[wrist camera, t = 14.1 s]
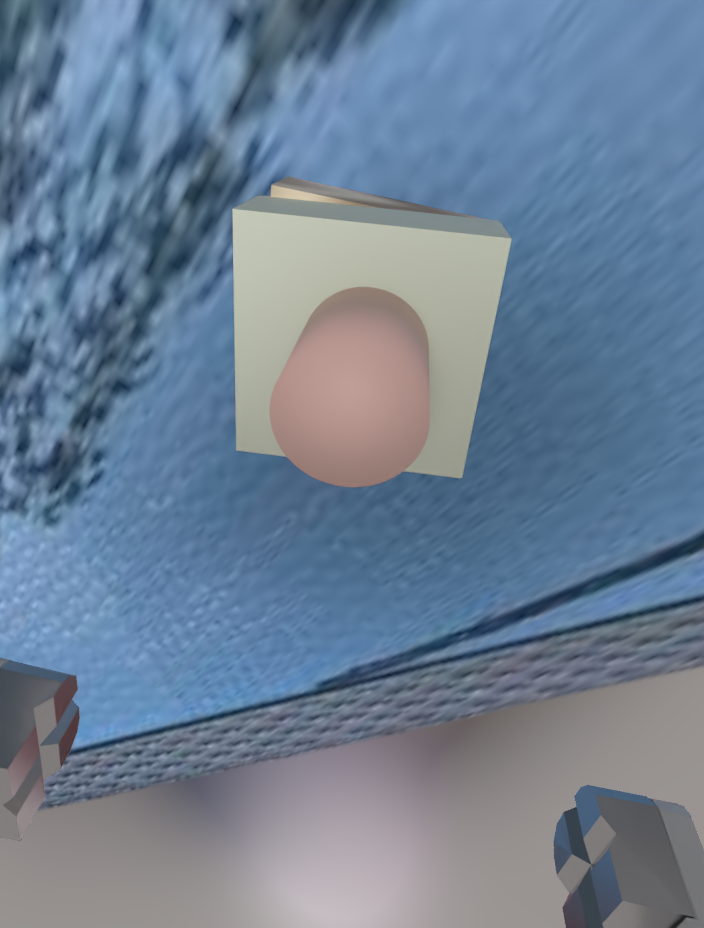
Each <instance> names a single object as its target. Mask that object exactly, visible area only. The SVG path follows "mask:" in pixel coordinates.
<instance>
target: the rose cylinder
mask: <svg viewBox="0 0 704 928" xmlns="http://www.w3.org/2000/svg"><path fill="white" fill-rule="evenodd" d="M269 414H270V423H271V427H272V431H273V434H274V436H275V439H276V441H277V443H278V445H279V447H280V448H281V450H282V451H283V453H284V454H285V455H286V457H287V458H288V459H289V460H290V461H291V462H292V463H293V464H294V465H295V466H297V467H298V468H299V469H300V470H302V471H303V472H305V473H306V474H308V475H309V476H311V477H313V478H315V479H317V480H320V481H322V482H325V483H328V484H332V485H336V486H343V487H366V486H371V485H376V484H379V483H382V482H385V481H387V480H389V479H392V478H394V477H395V476H397V475H399V474H400V473H402V472H403V471H404V470H405V469H407V468H408V467H409V466H410V465H411V464H412V463H413V462H414V461H415V459H416V458H417V457H418V455H419V454H420V452H421V450H422V448H423V447H424V445H425V442H426V439H427V436H428V431H429V424H430V396H429V345H428V338H427V333H426V330H425V328H424V325H423V323H422V321H421V319H420V317H419V316H418V314H417V313H416V312H415V310H414V309H413V308H412V307H411V306H410V305H409V304H408V303H407V302H405V301H404V300H403V299H401V298H400V297H398V296H396V295H395V294H393V293H390V292H388V291H386V290H382V289H378V288H372V287H355V288H349V289H346V290H342V291H340V292H337V293H335V294H333V295H332V296H330V297H328V298H327V299H326V300H324V301H323V302H322V303H321V304H320V305H319V306H318V307H317V308H316V309H315V310H314V312H313V313H312V314H311V316H310V318H309V320H308V322H307V323H306V325H305V327H304V329H303V331H302V333H301V335H300V337H299V339H298V341H297V343H296V345H295V347H294V349H293V351H292V353H291V355H290V357H289V359H288V361H287V363H286V365H285V367H284V368H283V370H282V372H281V374H280V376H279V378H278V380H277V382H276V384H275V386H274V389H273V392H272V395H271V400H270V411H269Z"/></svg>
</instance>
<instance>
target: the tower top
mask: <svg viewBox="0 0 704 928" xmlns="http://www.w3.org/2000/svg"><path fill="white" fill-rule="evenodd" d="M511 240H512V238H511V237H510V235H509V234H508V232H507V231H506V229H505V228H504V226H503V225H502V223H501V222H500V221H498V220H489V219H479V218H470V217H460V216H451V215H441V214H432V213H422V212H413V211H403V210H394V209H384V208H375V207H365V206H356V205H346V204H337V203H327V202H318V201H308V200H299V199H289V198H280V197H270V196H261V195H258V196H256V197H254V198H252V199H250V200H249V201H247V202H245V203H243V204H241V205H239V206H237V207H235V208H233V267H234V334H235V401H236V450H237V451H245V452H253V453H261V454H269V455H277V456H285V457H286V455H285V454H284V453H283V451H282V450H281V448H280V447H279V445H278V443H277V441H276V439H275V436H274V434H273V431H272V427H271V423H270V414H269V411H270V400H271V395H272V392H273V389H274V386H275V384H276V382H277V380H278V378H279V376H280V374H281V372H282V370H283V368H284V367H285V365H286V363H287V361H288V359H289V357H290V355H291V353H292V351H293V349H294V347H295V345H296V343H297V341H298V339H299V337H300V335H301V333H302V331H303V329H304V327H305V325H306V323H307V322H308V320H309V318H310V316H311V314H312V313H313V312H314V310H315V309H316V308H317V307H318V306H319V305H320V304H321V303H322V302H323V301H324V300H326V299H327V298H328V297H330V296H332V295H333V294H335V293H337V292H340V291H342V290H346V289H349V288H355V287H372V288H378V289H382V290H386V291H388V292H390V293H393V294H395V295H396V296H398V297H400V298H401V299H403V300H404V301H405V302H407V303H408V304H409V305H410V306H411V307H412V308H413V309H414V310H415V312H416V313H417V314H418V316H419V317H420V319H421V321H422V323H423V325H424V328H425V330H426V333H427V338H428V345H429V396H430V424H429V431H428V436H427V439H426V442H425V445H424V447H423V448H422V450H421V452H420V454H419V455H418V457H417V458H416V459H415V461H414V462H413V463H412V464H411V465H410V466H409V467H408V468H407V469H405V470H404V471H406V472H414V473H422V474H430V475H438V476H446V477H454V478H462V476H463V471H464V466H465V461H466V456H467V452H468V447H469V442H470V437H471V432H472V428H473V423H474V418H475V413H476V408H477V404H478V399H479V394H480V389H481V384H482V380H483V375H484V370H485V365H486V360H487V355H488V351H489V346H490V341H491V336H492V331H493V327H494V322H495V317H496V312H497V307H498V303H499V298H500V293H501V288H502V283H503V278H504V274H505V269H506V264H507V259H508V254H509V250H510V245H511Z"/></svg>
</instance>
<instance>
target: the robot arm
mask: <svg viewBox="0 0 704 928" xmlns="http://www.w3.org/2000/svg"><path fill="white" fill-rule="evenodd" d="M77 690H78V687H77V679H76V676H75V675H71V674H67V673H62V672H58V671H54V670H49V669H45V668H40V667H36V666H32V665H27V664H23V663H18V662H14V661H12V660H7V659H2V658H0V837H1V838H7V839H12V840H17V841H21V839H22V837H23V836H24V834H25V832H26V830H27V828H28V827H29V825H30V823H31V821H32V819H33V818H34V816H35V814H36V812H37V810H38V809H39V807H40V805H41V803H42V802H43V800H44V798H45V791H44V782H43V780H44V779H46V778H47V777H49V776H50V775H52V774H53V773H55V772H56V771H58V770H59V769H61V767H62V765H63V763H64V761H65V760H66V758H67V756H68V754H69V752H70V750H71V747H72V745H73V742H74V739H75V736H76V734H77V730H78V724H79V718H80V717H79V707H78V706H77V705H76V704H75V703H74V701H73V700H72V698H73V697H74V695H75V693H76V692H77ZM575 801H576V806H577V807H575V808H573V809H570V810H568V811H565V812H564V813H563V815H562V817H561V818H560V820H559V821H558V823H557V826H556V832H555V838H554V859H555V866H556V871H557V876H558V877H559V879H560V880H561V882H562V883H563V884H564V886H565V887H566V889H567V890H568V891H569V895H568V897H567V900H566V902H565V904H564V906H563V913H564V919H565V925H566V928H704V849H703V847H702V844H701V842H700V839H699V836H698V834H697V831H696V829H695V826H694V823H693V821H692V818H691V816H690V814H689V812H688V811H687V810H686V809H685V807H683V806H681V805H678V804H676V803H671V802H666V801H661V800H655V799H650V798H647V797H646V796H641V795H636V794H631V793H625V792H620V791H616V790H611V789H605V788H600V787H595V786H590V785H587V786H583V787H581V788H580V789H579V791H578V792H577V794H576V795H575Z"/></svg>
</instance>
